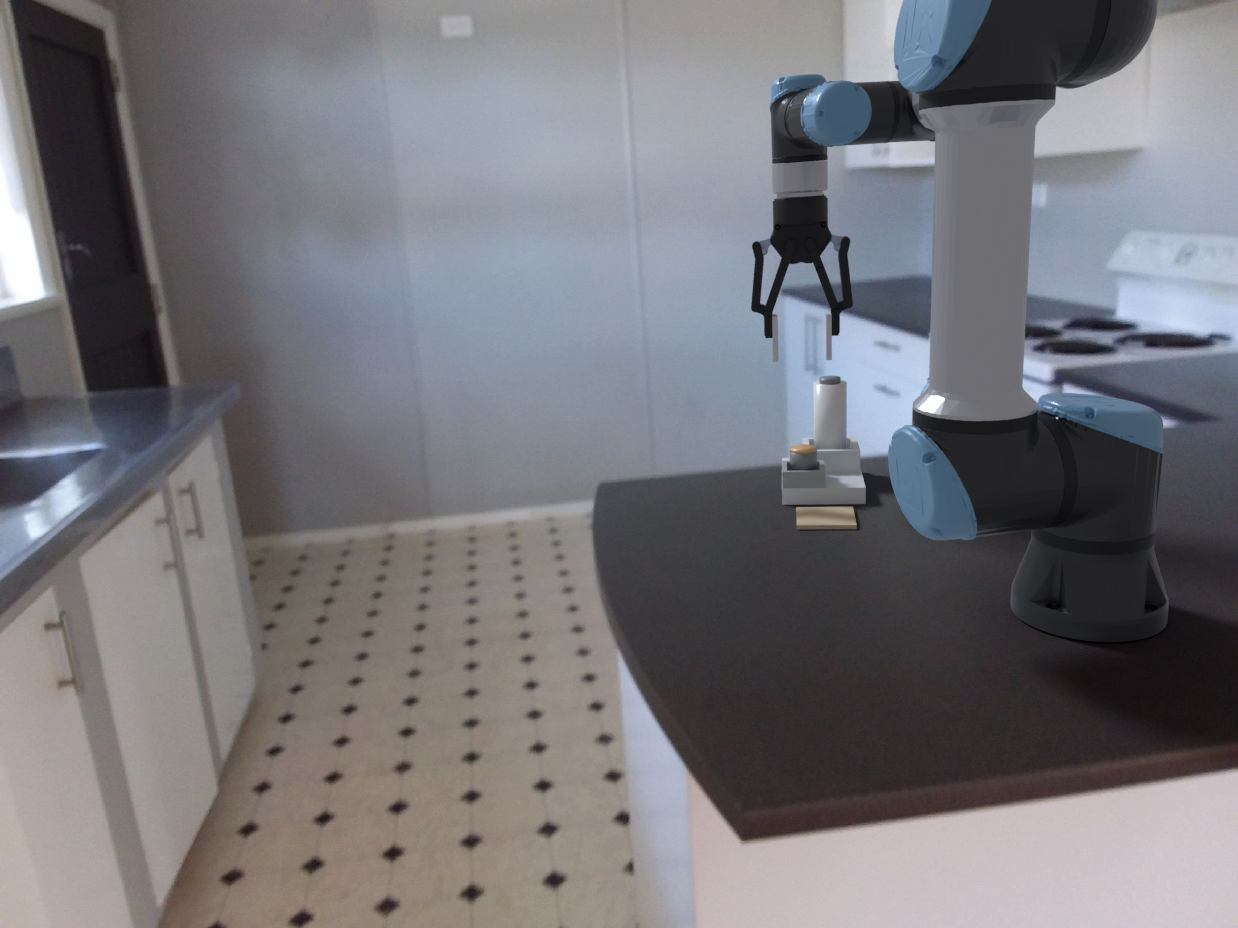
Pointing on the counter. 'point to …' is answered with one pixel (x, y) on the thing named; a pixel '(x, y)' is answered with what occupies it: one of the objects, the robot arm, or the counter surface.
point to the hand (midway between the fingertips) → (802, 359)
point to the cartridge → (830, 413)
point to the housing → (826, 478)
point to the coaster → (825, 518)
